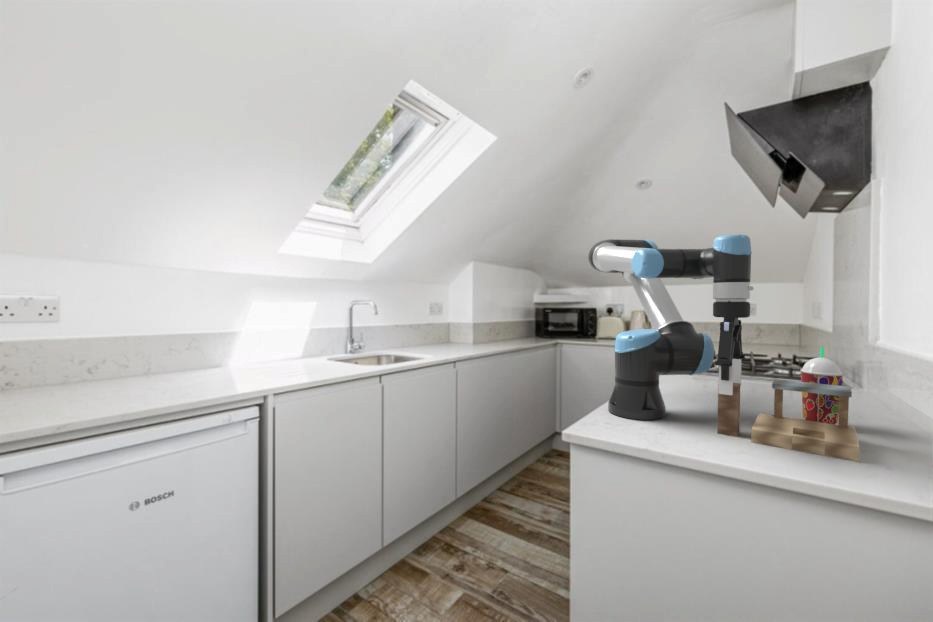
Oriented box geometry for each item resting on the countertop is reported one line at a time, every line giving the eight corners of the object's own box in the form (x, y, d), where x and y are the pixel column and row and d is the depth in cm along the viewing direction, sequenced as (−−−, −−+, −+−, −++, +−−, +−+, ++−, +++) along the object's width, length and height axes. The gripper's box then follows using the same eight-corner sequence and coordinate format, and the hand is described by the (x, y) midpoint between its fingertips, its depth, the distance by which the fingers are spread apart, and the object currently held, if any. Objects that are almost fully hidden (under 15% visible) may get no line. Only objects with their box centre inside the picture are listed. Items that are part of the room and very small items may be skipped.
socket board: (751, 441, 96) (752, 388, 95) (758, 424, 108) (759, 377, 108) (859, 461, 84) (861, 401, 84) (854, 440, 96) (855, 387, 96)
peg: (717, 433, 102) (718, 384, 101) (720, 429, 105) (721, 381, 104) (736, 436, 99) (737, 386, 99) (739, 432, 102) (740, 383, 102)
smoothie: (843, 432, 102) (845, 349, 101) (799, 425, 107) (801, 347, 106) (839, 423, 109) (842, 346, 108) (798, 417, 114) (800, 344, 113)
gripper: (742, 301, 89) (741, 401, 89) (756, 300, 108) (755, 383, 108) (702, 301, 93) (701, 396, 94) (722, 300, 113) (721, 379, 113)
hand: (730, 389), depth 101 cm, fingers open, 13 cm apart
